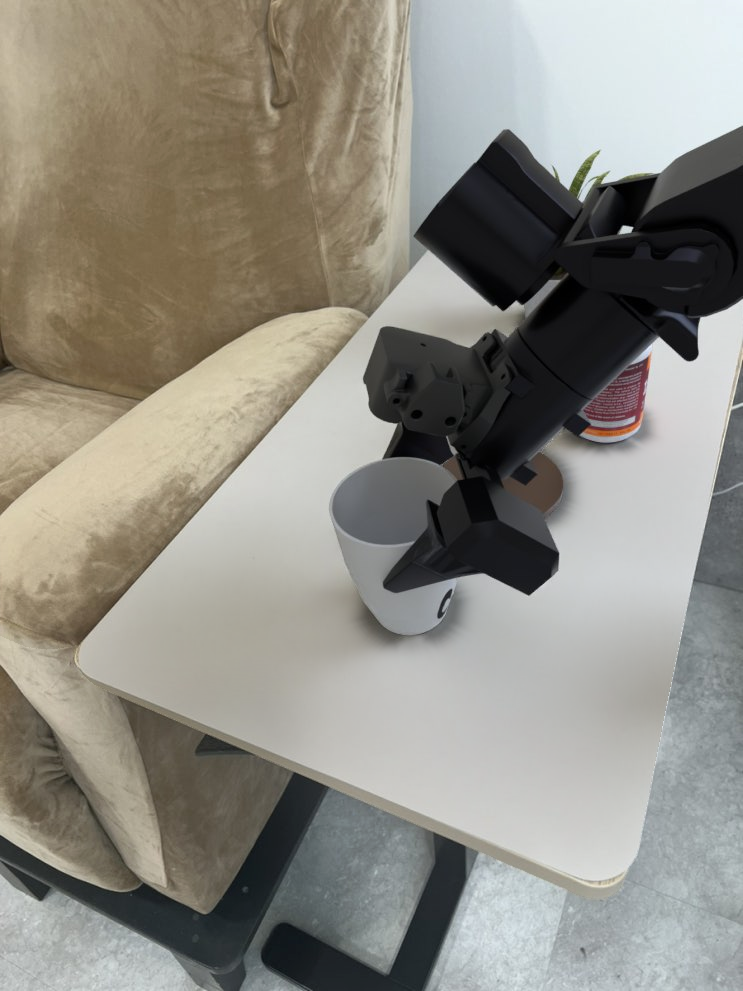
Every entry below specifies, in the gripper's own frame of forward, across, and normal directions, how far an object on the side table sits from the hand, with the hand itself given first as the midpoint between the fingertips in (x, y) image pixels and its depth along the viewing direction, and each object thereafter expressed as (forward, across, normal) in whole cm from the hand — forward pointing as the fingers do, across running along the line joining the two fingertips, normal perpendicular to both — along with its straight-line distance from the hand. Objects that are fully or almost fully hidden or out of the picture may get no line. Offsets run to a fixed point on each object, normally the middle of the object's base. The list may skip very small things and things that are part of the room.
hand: (379, 541), depth 49 cm
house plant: (-12, -35, +21) cm, 42 cm away
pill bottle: (-10, -16, +20) cm, 27 cm away
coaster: (-3, -11, +12) cm, 16 cm away
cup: (+4, 0, +6) cm, 7 cm away
